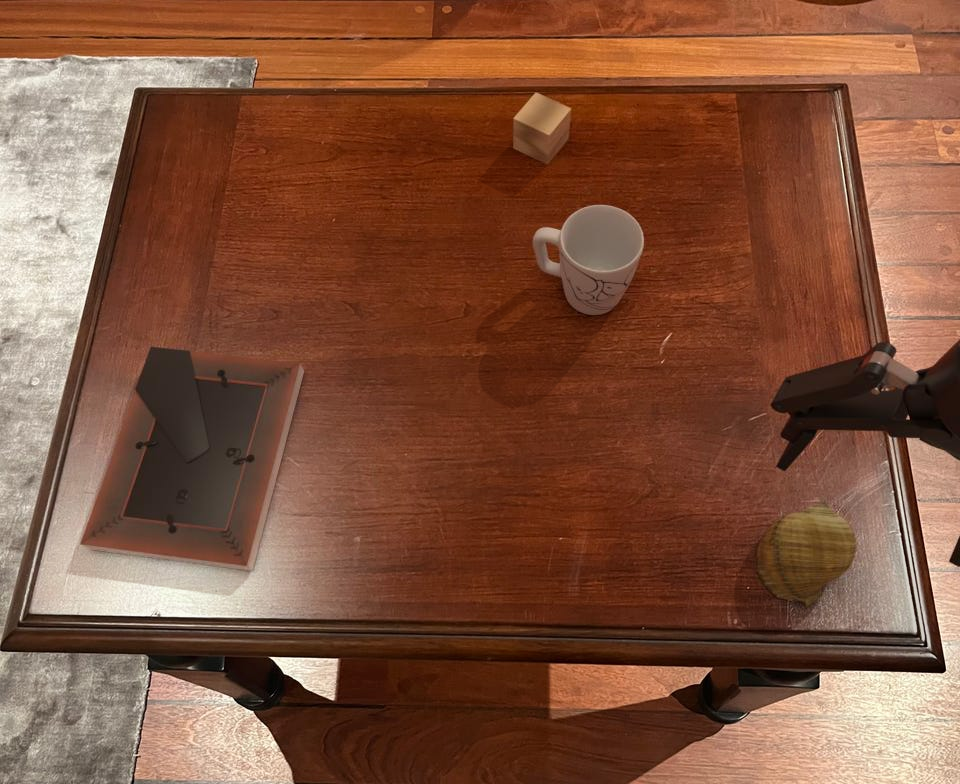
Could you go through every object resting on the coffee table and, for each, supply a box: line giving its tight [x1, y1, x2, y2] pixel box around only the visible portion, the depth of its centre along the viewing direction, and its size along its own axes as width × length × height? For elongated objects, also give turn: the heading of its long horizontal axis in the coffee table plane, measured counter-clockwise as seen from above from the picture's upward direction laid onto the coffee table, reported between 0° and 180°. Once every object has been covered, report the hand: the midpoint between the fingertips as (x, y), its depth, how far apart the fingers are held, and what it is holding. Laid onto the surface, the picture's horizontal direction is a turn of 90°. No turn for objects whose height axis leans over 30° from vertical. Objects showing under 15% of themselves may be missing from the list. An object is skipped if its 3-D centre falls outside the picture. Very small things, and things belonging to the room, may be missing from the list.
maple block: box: [512, 92, 572, 166], centre depth 97 cm, size 5×5×5 cm
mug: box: [532, 204, 645, 316], centre depth 85 cm, size 11×8×10 cm
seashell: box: [755, 501, 857, 608], centre depth 73 cm, size 10×7×8 cm
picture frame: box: [79, 346, 305, 572], centre depth 81 cm, size 16×2×22 cm
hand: (870, 501), depth 61 cm, fingers open, 13 cm apart
